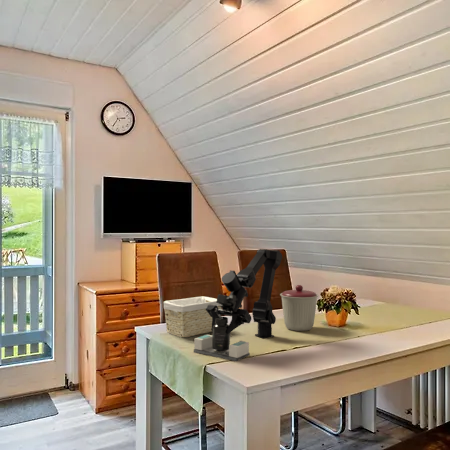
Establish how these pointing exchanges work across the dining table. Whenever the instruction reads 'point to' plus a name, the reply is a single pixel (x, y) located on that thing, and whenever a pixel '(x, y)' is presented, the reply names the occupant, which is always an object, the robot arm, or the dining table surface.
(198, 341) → the module pair
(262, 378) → the dining table surface
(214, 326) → the supplement bottle
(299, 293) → the canister
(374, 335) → the dining table surface
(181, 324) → the storage basket
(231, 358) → the rail plate
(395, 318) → the dining table surface
